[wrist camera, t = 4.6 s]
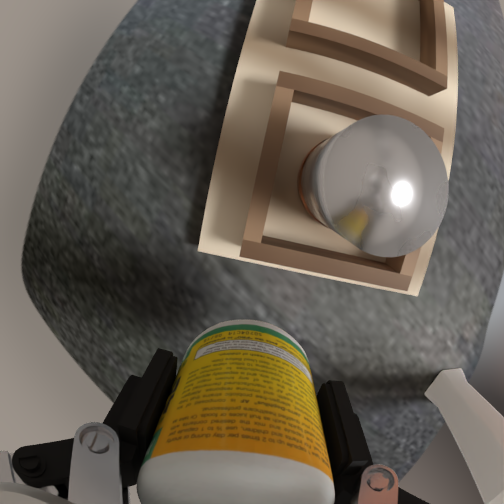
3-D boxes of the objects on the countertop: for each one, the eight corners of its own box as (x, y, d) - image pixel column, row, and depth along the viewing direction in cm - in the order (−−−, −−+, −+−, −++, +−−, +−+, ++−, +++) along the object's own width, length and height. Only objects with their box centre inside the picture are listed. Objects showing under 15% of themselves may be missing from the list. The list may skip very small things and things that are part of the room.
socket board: (275, -48, 11) (276, -74, 8) (446, 12, 11) (466, -3, 8) (201, 246, 16) (188, 261, 13) (410, 290, 16) (433, 309, 13)
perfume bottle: (424, 374, 18) (517, 519, 3) (466, 356, 18) (567, 474, 3) (416, 412, 19) (484, 545, 4) (457, 396, 19) (533, 509, 4)
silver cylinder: (307, 127, 13) (338, 93, 8) (391, 153, 14) (458, 142, 8) (288, 217, 15) (306, 241, 9) (372, 238, 15) (430, 270, 9)
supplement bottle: (305, 406, 12) (329, 591, 3) (196, 408, 13) (153, 583, 4) (309, 309, 11) (379, 567, 2) (174, 314, 11) (61, 536, 2)
